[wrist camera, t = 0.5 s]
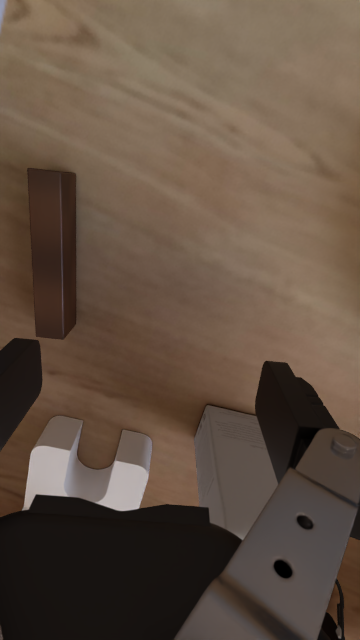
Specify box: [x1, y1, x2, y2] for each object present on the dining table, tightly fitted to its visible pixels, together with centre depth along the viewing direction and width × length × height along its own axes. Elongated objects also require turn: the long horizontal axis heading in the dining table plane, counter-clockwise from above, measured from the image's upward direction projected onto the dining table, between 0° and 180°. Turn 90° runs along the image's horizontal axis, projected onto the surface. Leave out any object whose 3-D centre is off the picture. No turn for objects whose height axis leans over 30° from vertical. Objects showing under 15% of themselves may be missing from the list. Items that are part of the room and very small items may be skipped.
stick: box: [27, 168, 76, 340], centre depth 23 cm, size 11×2×3 cm, turn 174°
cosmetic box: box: [194, 405, 278, 540], centre depth 25 cm, size 6×4×12 cm
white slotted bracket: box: [22, 416, 152, 511], centre depth 28 cm, size 10×18×11 cm, turn 165°
